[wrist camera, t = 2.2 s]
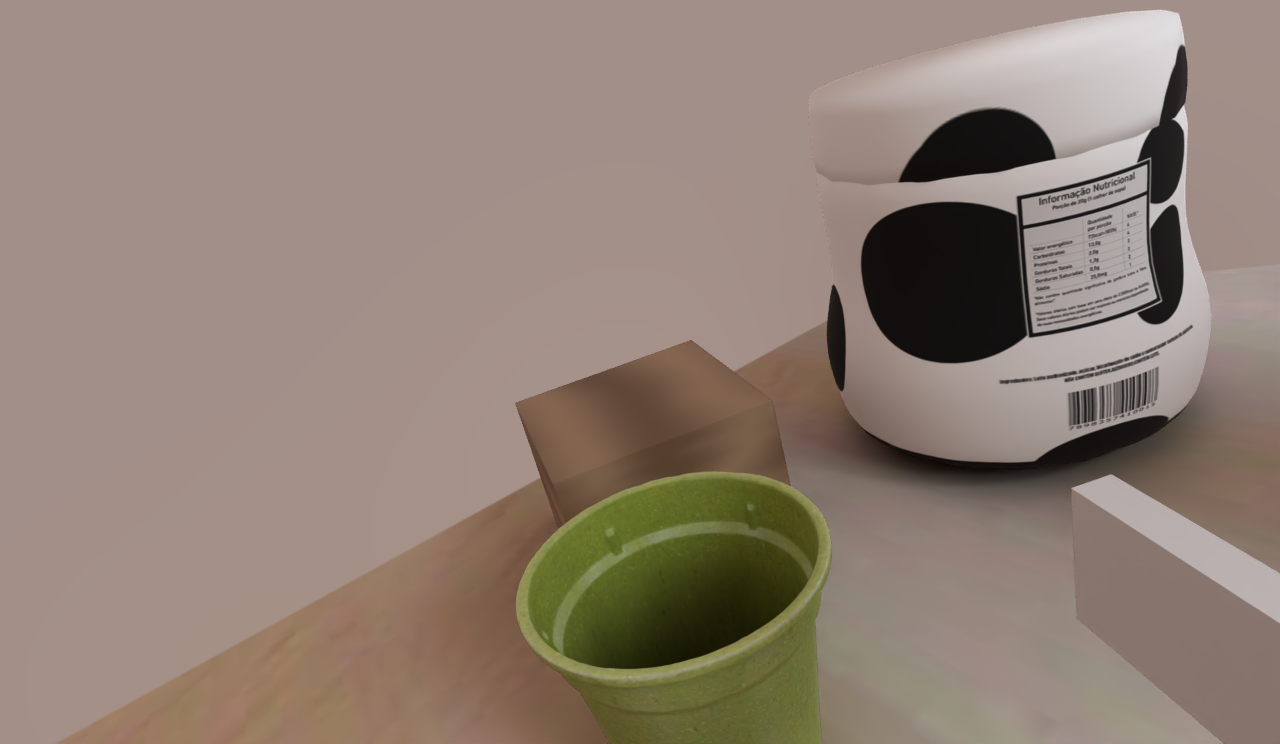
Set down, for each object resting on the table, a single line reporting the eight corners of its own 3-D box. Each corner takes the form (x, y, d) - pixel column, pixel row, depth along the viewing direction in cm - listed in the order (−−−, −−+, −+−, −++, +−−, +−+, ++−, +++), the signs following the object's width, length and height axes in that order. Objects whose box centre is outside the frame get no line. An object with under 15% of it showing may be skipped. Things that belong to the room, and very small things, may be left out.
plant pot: (576, 928, 23) (481, 703, 20) (605, 684, 32) (541, 499, 29) (907, 889, 22) (860, 641, 19) (844, 646, 31) (805, 447, 28)
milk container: (930, 332, 54) (895, 50, 48) (1249, 355, 42) (1261, -20, 35) (781, 461, 44) (709, 125, 37) (1144, 542, 32) (1133, 63, 25)
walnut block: (718, 451, 47) (691, 340, 44) (800, 534, 38) (772, 400, 35) (553, 515, 45) (515, 402, 42) (598, 618, 36) (552, 483, 33)
